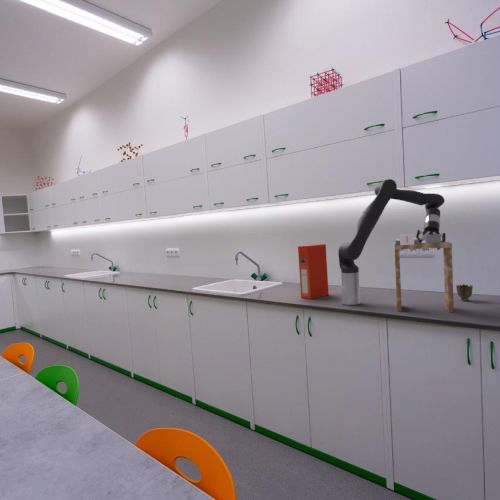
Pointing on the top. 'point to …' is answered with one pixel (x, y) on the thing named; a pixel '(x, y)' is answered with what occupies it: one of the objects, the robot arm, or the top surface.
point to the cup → (464, 292)
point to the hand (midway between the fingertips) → (429, 247)
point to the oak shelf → (447, 271)
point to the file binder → (313, 271)
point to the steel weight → (432, 238)
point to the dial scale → (407, 240)
